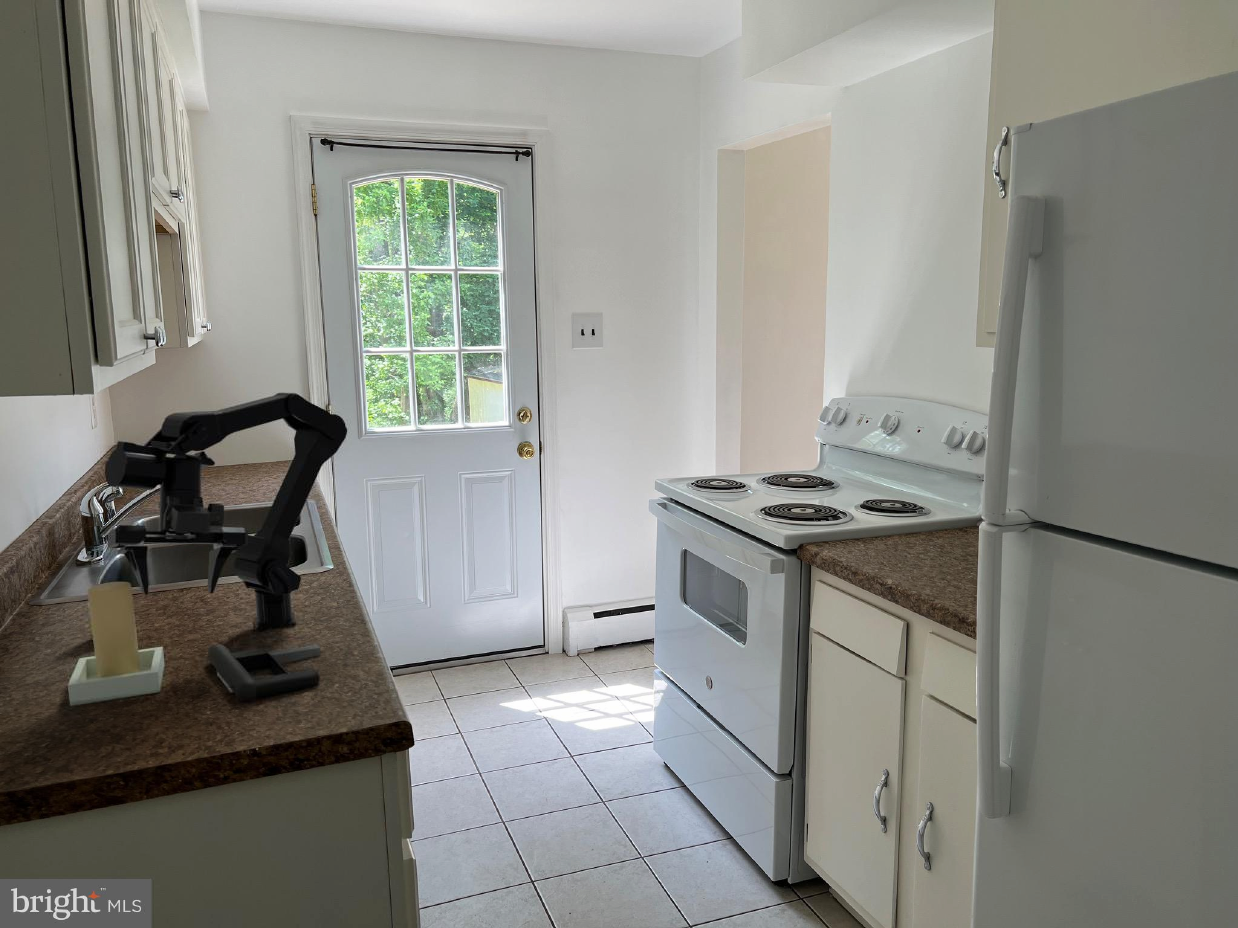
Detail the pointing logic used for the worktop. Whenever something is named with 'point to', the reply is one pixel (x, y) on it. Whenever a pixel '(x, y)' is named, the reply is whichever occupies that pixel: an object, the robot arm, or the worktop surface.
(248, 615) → the worktop surface
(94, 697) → the tray
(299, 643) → the worktop surface
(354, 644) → the worktop surface
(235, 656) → the door handle
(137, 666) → the tan rounded cylinder
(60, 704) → the worktop surface
